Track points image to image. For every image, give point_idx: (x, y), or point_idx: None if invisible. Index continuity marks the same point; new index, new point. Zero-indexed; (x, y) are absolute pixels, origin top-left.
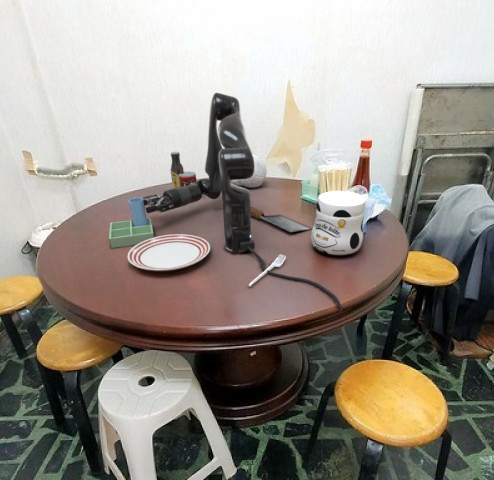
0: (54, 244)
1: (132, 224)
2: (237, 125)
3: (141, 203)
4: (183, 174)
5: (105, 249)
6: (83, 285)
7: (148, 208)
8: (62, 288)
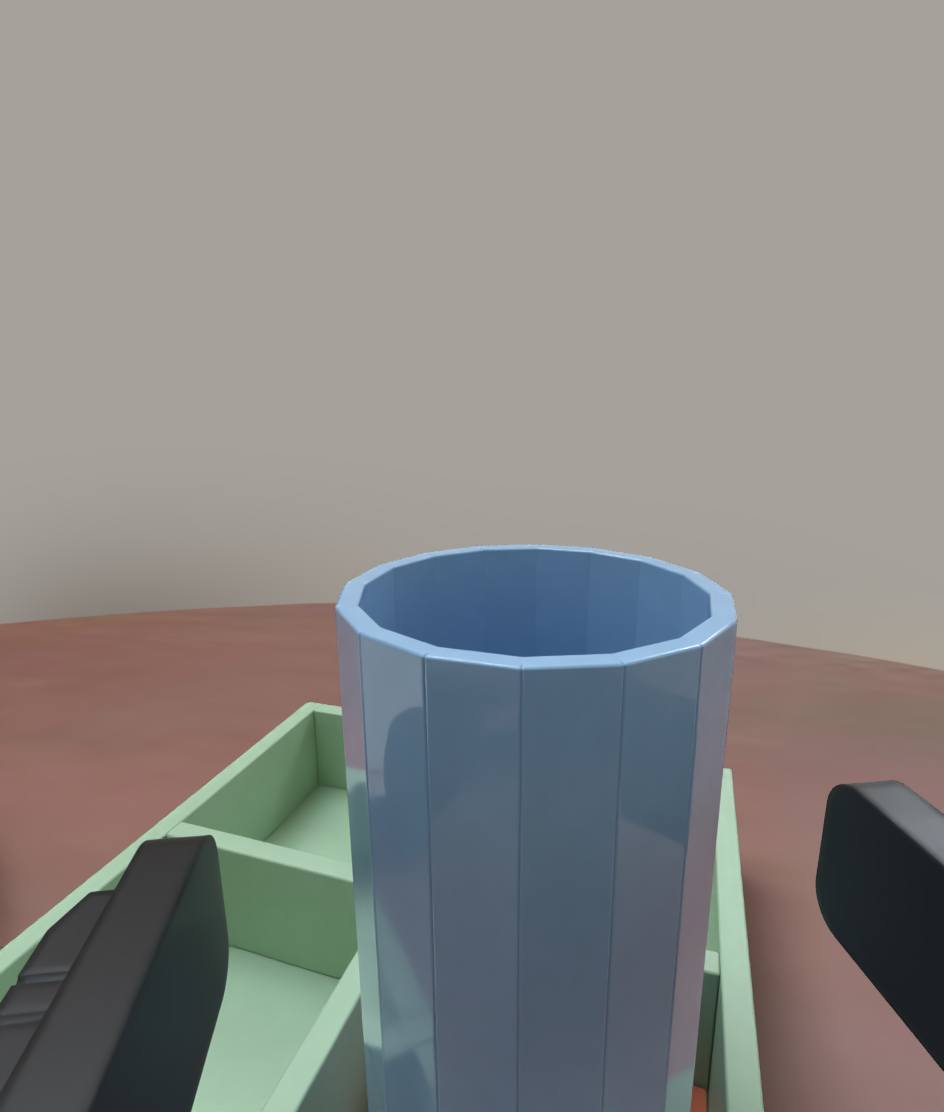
0: None
1: (712, 1037)
2: None
3: (352, 692)
4: None
5: None
6: (48, 649)
7: (131, 901)
8: (127, 618)
